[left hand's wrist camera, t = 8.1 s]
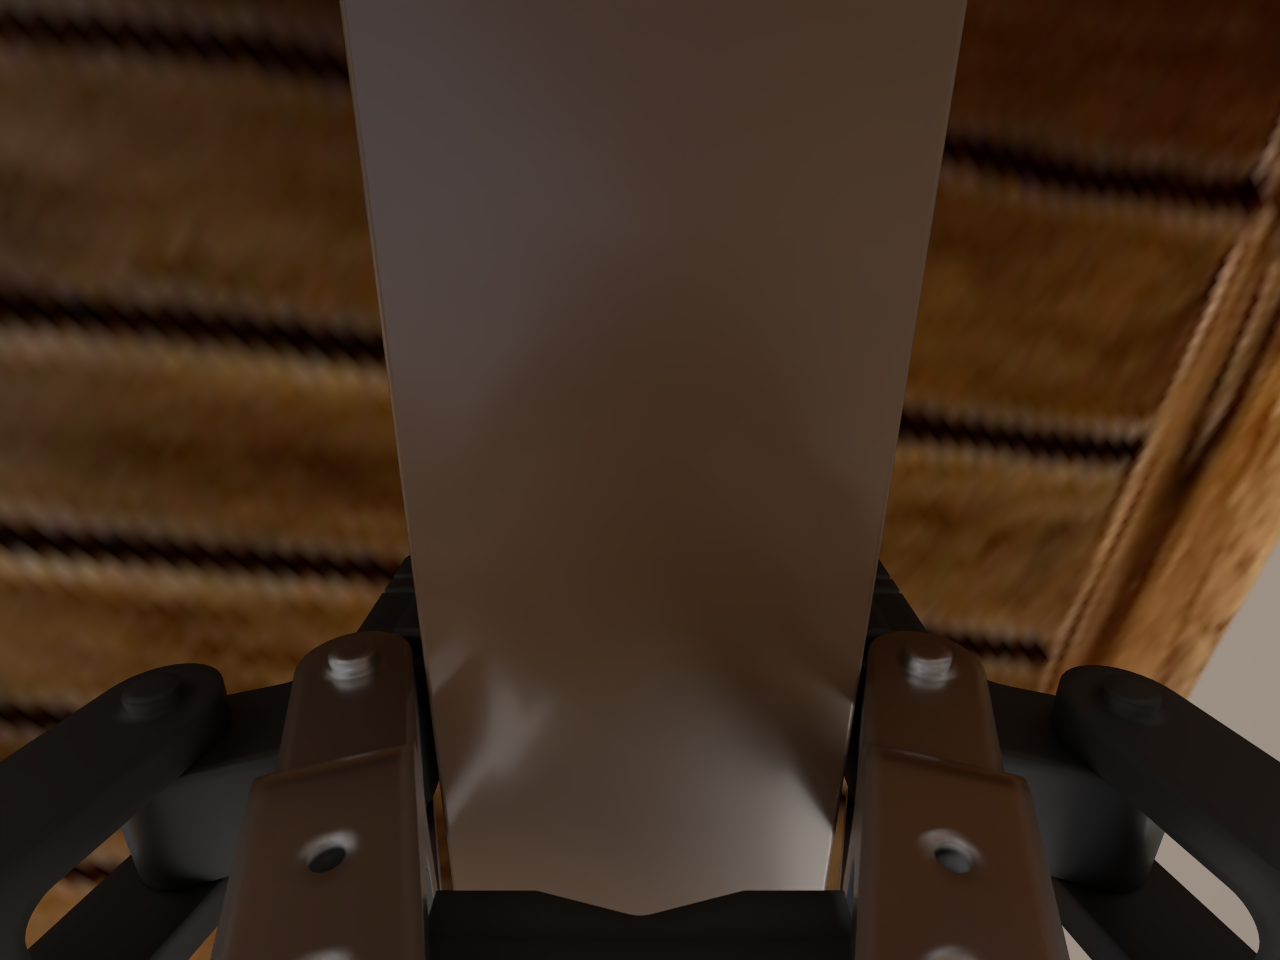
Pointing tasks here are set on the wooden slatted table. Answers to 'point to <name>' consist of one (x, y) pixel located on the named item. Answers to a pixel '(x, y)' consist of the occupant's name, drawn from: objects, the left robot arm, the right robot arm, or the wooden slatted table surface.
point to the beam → (647, 410)
